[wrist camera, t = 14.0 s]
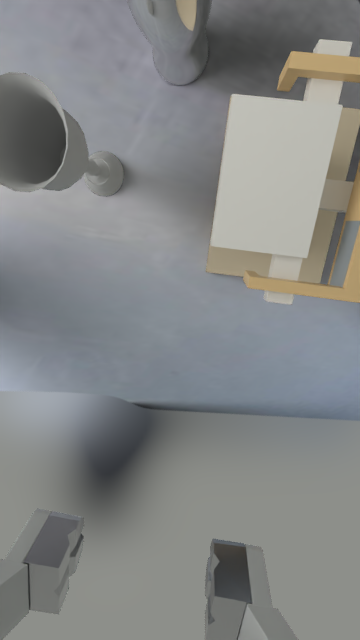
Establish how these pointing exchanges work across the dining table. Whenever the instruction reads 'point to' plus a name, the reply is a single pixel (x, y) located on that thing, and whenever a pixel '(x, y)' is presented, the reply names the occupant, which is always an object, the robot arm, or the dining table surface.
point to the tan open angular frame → (356, 235)
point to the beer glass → (175, 36)
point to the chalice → (47, 143)
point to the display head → (283, 182)
